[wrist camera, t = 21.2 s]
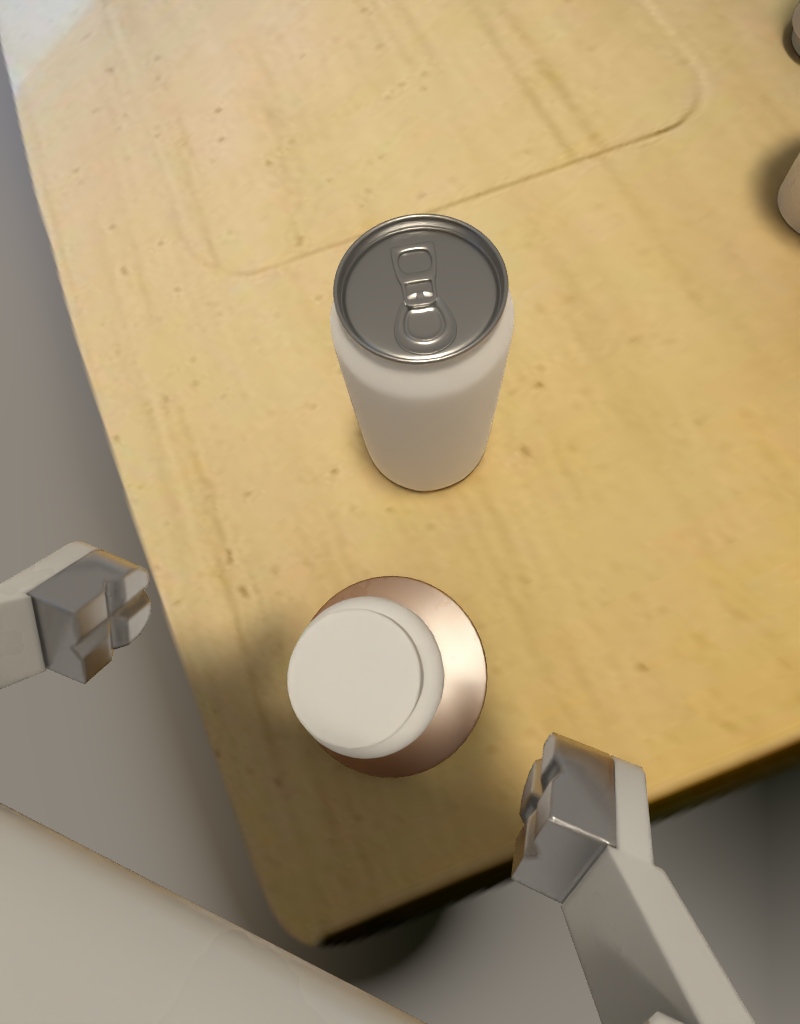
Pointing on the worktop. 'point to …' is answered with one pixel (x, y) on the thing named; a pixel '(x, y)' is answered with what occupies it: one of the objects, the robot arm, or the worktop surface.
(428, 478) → the can
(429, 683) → the pill bottle
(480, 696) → the coaster
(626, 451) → the worktop surface
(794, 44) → the energy drink can
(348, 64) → the worktop surface
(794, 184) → the dixie cup
